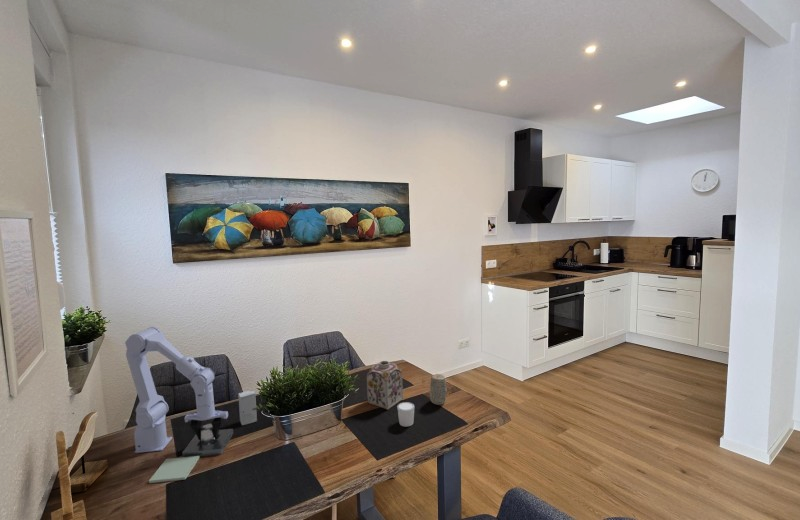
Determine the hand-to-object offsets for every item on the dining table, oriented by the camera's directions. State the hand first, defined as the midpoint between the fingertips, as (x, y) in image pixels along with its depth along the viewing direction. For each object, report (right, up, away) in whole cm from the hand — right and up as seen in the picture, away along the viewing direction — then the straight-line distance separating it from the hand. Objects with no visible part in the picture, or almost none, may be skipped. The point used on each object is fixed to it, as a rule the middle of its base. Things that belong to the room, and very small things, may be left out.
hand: (208, 437), depth 139 cm
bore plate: (0, -3, 0) cm, 3 cm away
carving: (+88, +3, +27) cm, 92 cm away
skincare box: (+8, -1, +16) cm, 18 cm away
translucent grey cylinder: (0, -3, 0) cm, 3 cm away
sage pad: (-4, -5, -13) cm, 15 cm away
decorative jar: (+64, +2, +29) cm, 71 cm away
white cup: (+73, 0, +11) cm, 74 cm away
